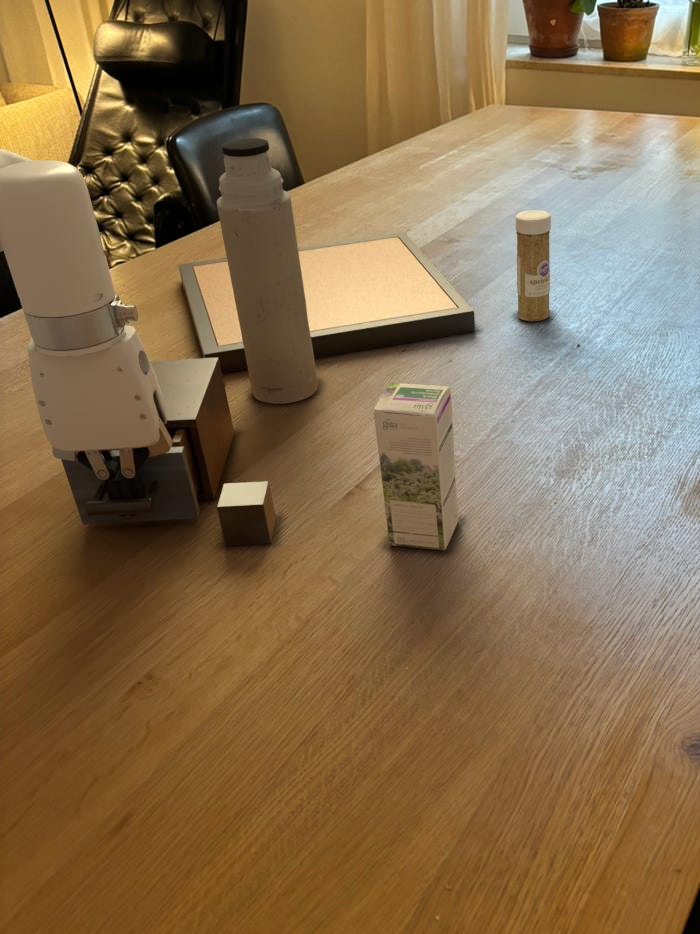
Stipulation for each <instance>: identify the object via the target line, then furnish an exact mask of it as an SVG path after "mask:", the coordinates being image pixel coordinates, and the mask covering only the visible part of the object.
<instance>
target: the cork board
mask: <svg viewBox="0 0 700 934" xmlns="http://www.w3.org/2000/svg"><path fill="white" fill-rule="evenodd" d="M298 252H299V259H300V265H301V272H302V279H303V286H304V293H305V300H306V308H307V316H308V323H309V329H310V335H311V341H312V348H313V354H314V359H319V358H324V357H325V358H326V357H330V356H331V357H333V356H338V355H342V354H349V353H355V352H361V351H367V350H372V349H380V348H385V347H390V346H396V345H397V346H398V345H402V344H403V345H404V344H410V343H415V342H421V341H427V340H433V339H439V338H445V337H451V336H457V335H464V334H469V333H475V332H476V323H475V322H476V321H475V318H476V317H475V311H474V309H473V308H472V307H471V306H470V305H469V304H468V303H467V301H466V300H465V299H464V297H462V295H461V294H460V293H459V292H458V291H457V290H456V289H455V288H454V287H453V285H452V283H450V282H449V281H448V279H446V277H445V276H444V275H443V274H442V273H441V272H440V271H439V269H438V268H437V267H436V265H434V264H433V262H431V260H430V259H429V257H427V256H426V254H425V253H424V252H423V251H422V250H421V249H420V247H418V246H417V244H416V243H415V242H414V240H412V239H411V238H410V236H409V235H408V234H407V232H400V233H399V232H397V233H392V234H385V235H377V236H370V237H364V238H363V237H362V238H357V239H349V240H343V241H336V242H335V241H334V242H328V243H322V244H315V245H314V244H313V245H307V246H300V247H299V246H298ZM177 266H178V271H179V275H180V279H181V285H182V287H183V291H184V294H185V298H186V301H187V305H188V308H189V312H190V316H191V318H192V322H193V326H194V329H195V333H196V337H197V341H198V344H199V347H200V350H201V354H202V358H217V357H218V358H219V362H220V367H221V371H222V375H223V374H229V373H235V372H240V371H241V372H242V371H248V366H247V361H246V356H245V351H244V345H243V340H242V335H241V330H240V324H239V319H238V314H237V308H236V303H235V298H234V293H233V287H232V282H231V277H230V272H229V266H228V261H227V257H223V258H216V259H208V260H200V261H195V262H187V263H181V264H178V265H177Z"/></svg>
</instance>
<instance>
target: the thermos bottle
mask: <svg viewBox="0 0 700 934" xmlns="http://www.w3.org/2000/svg"><path fill="white" fill-rule="evenodd" d="M269 150H270V144H269V141H268V140H267V139H265V138H258V137H244V138H237V139H232V140H229V141H226V142H224V143H222V144H221V151H222V154H223V157H224V158H223V164H224V170H225V172H223V174H222V175H220V176H219V178H218V182H219V187H218V190H219V192H220V194H221V196H220V197H218V198H217V200H216V208H217V214H218V219H219V225H220V229H221V234H222V238H223V246H224V250H225V255H226V258H227V261H228V266H229V272H230V277H231V282H232V287H233V293H234V298H235V303H236V308H237V314H238V319H239V324H240V330H241V335H242V340H243V345H244V351H245V356H246V361H247V366H248V370H247V372H248V377H249V382H250V387H251V391H252V395H253V397H254V398H255V399H256V400H257V401H260V402H263V403H266V404H271V405H273V404H274V405H275V404H276V405H282V404H283V405H285V404H291V403H296V402H299V401H300V402H301V401H302V400H305V399H308V398H309V397H311V396H313V395H314V394H315V393H316V392H317V390H318V387H319V382H318V376H317V368H316V362H315V361H316V360H315V358H314V354H313V348H312V341H311V335H310V329H309V323H308V316H307V308H306V300H305V293H304V286H303V279H302V272H301V265H300V259H299V252H298V248H299V246H298V237H297V232H296V225H295V224H296V223H295V218H294V212H293V211H294V210H293V206H292V205H293V203H292V198H291V194H290V193H289V192H288V191H286V190H284V188H283V183H284V179H283V178H282V175H281V173H280V172H279V170H278V169H275V168H273V167H272V163H271V157H270V154H269V152H268V151H269Z"/></svg>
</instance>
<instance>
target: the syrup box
mask: <svg viewBox="0 0 700 934" xmlns="http://www.w3.org/2000/svg"><path fill="white" fill-rule="evenodd" d="M373 418H374V426H375V434H376V442H377V450H378V459H379V460H378V461H379V467H380V478H381V485H382V494H383V503H384V510H385V511H384V512H385V518H386V528H387V535H388V537H387V538H388V544H389V546H394V547H405V548H414V549H422V550H423V549H424V550H433V551H445V550H446V549H447V547H448V546H449V543H450V542H451V539H452V537H453V534H454V532H455V529H456V528H457V525H458V523H459V520H460V515H459V503H458V494H457V479H456V461H455V460H456V459H455V440H454V438H455V437H454V419H453V403H452V391H451V387H450V386H448V385H447V386H446V385H434V384H433V385H431V384H418V383H417V384H416V383H403V382H391V383H390V384H388V386H387V387H386V388H385V390H384V391H383V392H382V394H381V396H379V399H378V401H377V402H376V404H375V407H373Z"/></svg>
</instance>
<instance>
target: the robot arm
mask: <svg viewBox="0 0 700 934" xmlns="http://www.w3.org/2000/svg"><path fill="white" fill-rule="evenodd" d="M101 237H102V236H101V233H100V230H99V226H98V222H97V219H96V214H95V211H94V206H93V203H92V200H91V196H90V192H89V188H88V186H87V183H86V180H85V178H84V176H83V175H82V173H81V171H80V170H79V169H78V168H76V166H74V165H72V164H70V163H68V162H66V161H61V160H53V159H39V160H33V159H31V158H28V157H25V156H24V155H21V154H18V153H16V152H14V151H12V150H9V149H5V148H0V253H1V252H3V253H4V256H5V259H6V262H7V266H8V268H9V269H8V270H9V272H10V275H11V277H12V281H13V284H14V288H15V290H16V293H17V297H18V298H19V302H20V305H21V309H22V311H23V314H24V317H25V322H26V325H27V326H28V329H29V333H30V336H31V338H30V339H29V341H28V344H27V354H28V363H29V370H30V371H29V372H30V377H31V383H32V389H33V393H34V398H35V403H36V408H37V410H38V415H39V419H40V421H41V425H42V428H43V431H44V434H45V436H46V439H47V442H48V443H49V445H51V447H52V455H53V457H54V458H56V459H59V460H61V459H64V460H70V461H79V462H80V463H82V464H83V465H85V466H86V467H88V468H89V469H91V470H93V471H94V472H95V474H96V476H97V477H98V478H99V479H101V480H103V481H104V484H105V487H106V490H107V493H108V497H109V500H121V499H139V498H146V494H145V489H144V486H143V482H142V479H141V475H140V472H139V468H140V467H141V466H142V465H143V463H144V462H145V461H146V460H147V458H148V457H151V456H156V455H160V454H163V453H166V452H169V451H170V449H171V446H172V444H173V441H172V439H171V437H170V435H169V433H168V431H167V429H166V427H165V426H164V424H166V423H167V410H166V406H165V403H164V399H163V396H162V393H161V390H160V387H159V384H158V381H157V378H156V376H155V373H154V370H153V367H152V365H151V362H150V361H151V360H150V358H149V355H148V352H147V350H146V348H145V346H144V343H143V341H142V340H141V337H140V335H139V333H138V331H137V330H136V328H135V327H134V326H133V325H127V324H130V323H134V322H135V323H136V322H138V321H139V310H138V308H137V306H136V305H135V304H133V305H132V304H129V305H127V303H123V302H122V300H120V299H121V298H120V295H119V293H116V290H115V286H114V281H113V279H112V278H113V277H112V275H111V270H110V267H109V263H108V260H107V259H108V258H107V255H106V253H105V249H104V244H103V241H102V238H101ZM113 449H119V455H120V463H121V464H118V463H117V462H116V459H115V457H114V455H113V453H112V450H113ZM126 515H127V514H124V515H119V516H126ZM136 515H137V514H130V516H136Z"/></svg>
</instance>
